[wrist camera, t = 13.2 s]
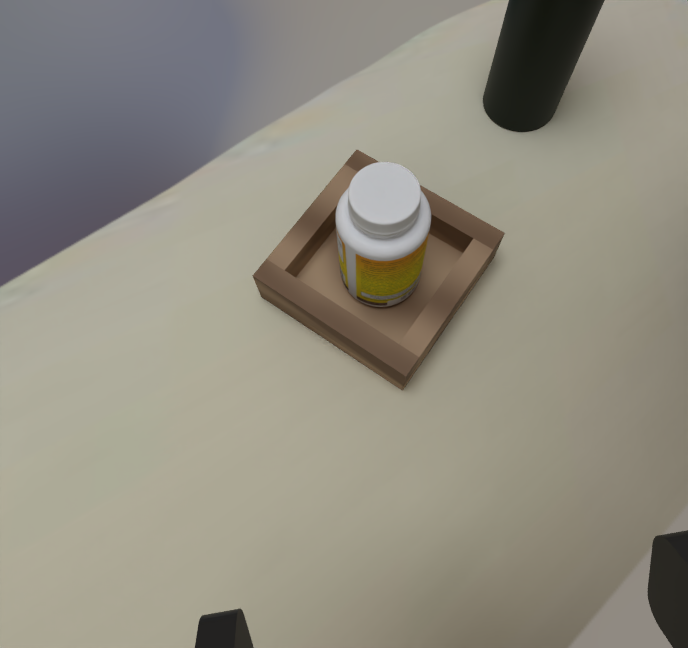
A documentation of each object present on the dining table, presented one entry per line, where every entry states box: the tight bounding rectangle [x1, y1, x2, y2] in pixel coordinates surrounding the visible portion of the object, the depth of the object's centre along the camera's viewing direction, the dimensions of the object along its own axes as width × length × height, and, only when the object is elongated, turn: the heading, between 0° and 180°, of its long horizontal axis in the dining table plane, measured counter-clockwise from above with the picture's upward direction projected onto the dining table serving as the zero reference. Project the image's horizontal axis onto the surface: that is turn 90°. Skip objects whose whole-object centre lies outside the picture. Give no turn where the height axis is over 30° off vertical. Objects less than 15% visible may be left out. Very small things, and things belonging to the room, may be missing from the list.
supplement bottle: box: [335, 162, 431, 307], centre depth 36 cm, size 6×6×10 cm
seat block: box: [253, 150, 505, 390], centre depth 41 cm, size 12×12×4 cm
